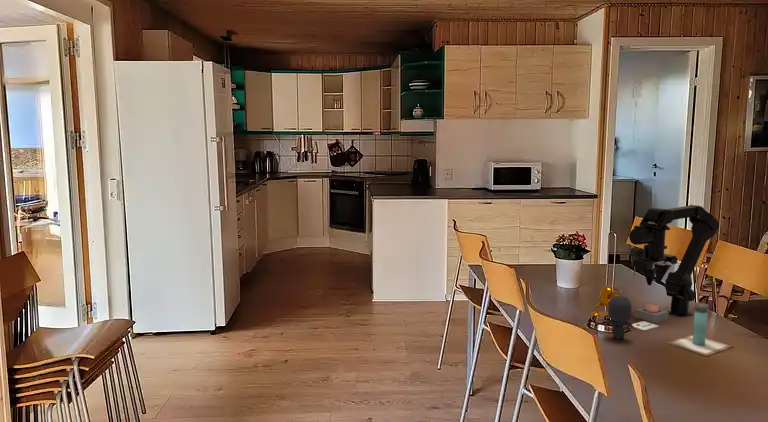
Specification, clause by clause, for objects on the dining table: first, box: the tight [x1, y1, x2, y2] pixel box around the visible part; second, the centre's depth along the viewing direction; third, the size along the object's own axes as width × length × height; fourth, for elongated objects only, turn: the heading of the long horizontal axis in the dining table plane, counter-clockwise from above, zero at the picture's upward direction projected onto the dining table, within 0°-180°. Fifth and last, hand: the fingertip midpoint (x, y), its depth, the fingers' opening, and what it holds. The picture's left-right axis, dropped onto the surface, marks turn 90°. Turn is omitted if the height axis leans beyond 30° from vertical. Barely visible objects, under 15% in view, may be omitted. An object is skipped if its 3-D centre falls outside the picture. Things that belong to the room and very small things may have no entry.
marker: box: [692, 302, 709, 346], centre depth 184 cm, size 4×4×13 cm
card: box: [631, 320, 659, 332], centre depth 203 cm, size 8×6×1 cm
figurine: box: [589, 285, 623, 317], centre depth 212 cm, size 8×11×12 cm
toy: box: [603, 294, 635, 341], centre depth 189 cm, size 9×8×15 cm
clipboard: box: [666, 334, 734, 358], centre depth 184 cm, size 15×13×1 cm
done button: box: [645, 303, 660, 313], centre depth 211 cm, size 4×4×4 cm
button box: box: [634, 306, 670, 324], centre depth 211 cm, size 8×8×3 cm
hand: (653, 284), depth 209 cm, fingers open, 5 cm apart
